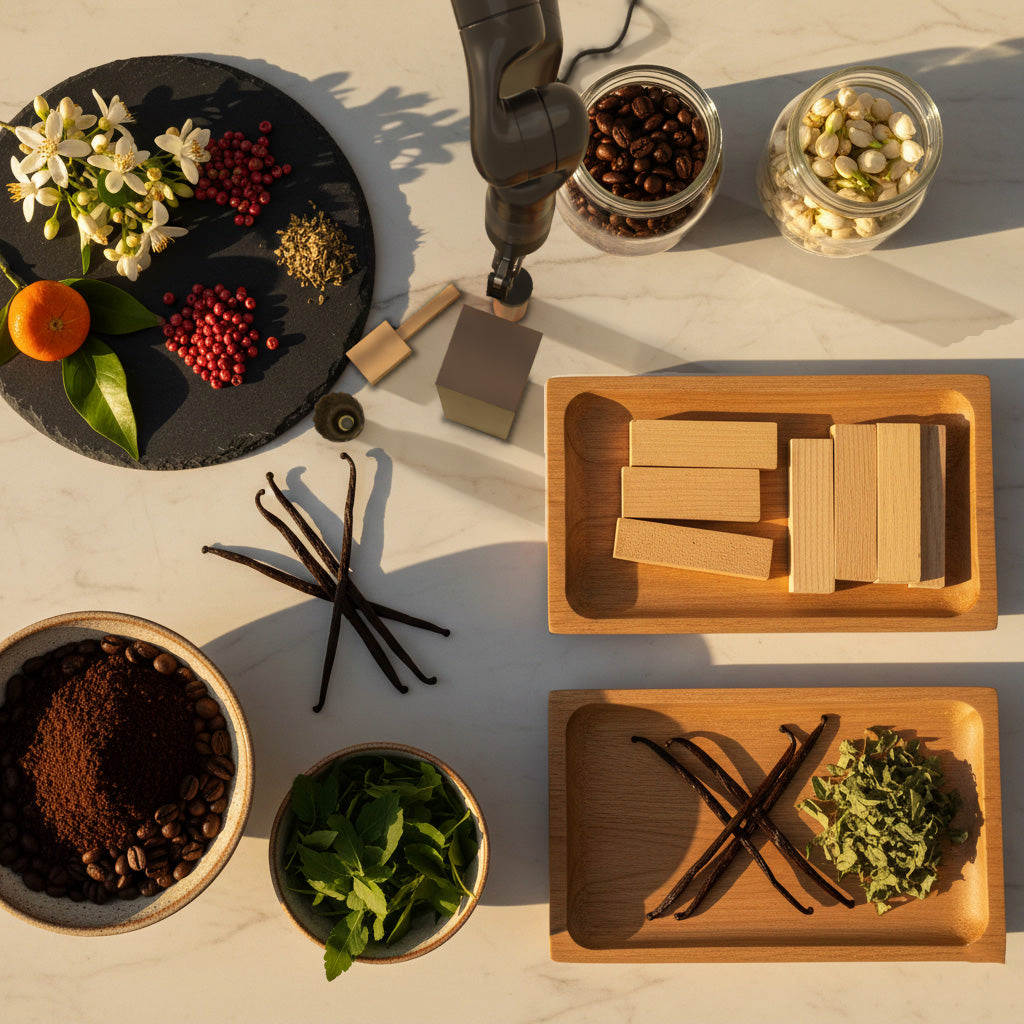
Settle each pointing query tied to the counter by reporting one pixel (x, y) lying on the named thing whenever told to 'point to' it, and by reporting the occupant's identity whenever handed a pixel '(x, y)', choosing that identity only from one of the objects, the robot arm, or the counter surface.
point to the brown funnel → (338, 417)
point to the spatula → (395, 339)
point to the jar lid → (519, 290)
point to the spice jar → (509, 311)
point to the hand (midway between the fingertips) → (513, 258)
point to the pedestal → (486, 370)
